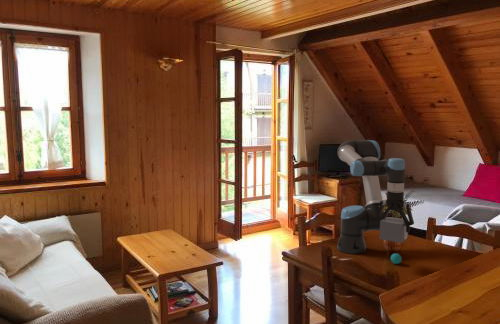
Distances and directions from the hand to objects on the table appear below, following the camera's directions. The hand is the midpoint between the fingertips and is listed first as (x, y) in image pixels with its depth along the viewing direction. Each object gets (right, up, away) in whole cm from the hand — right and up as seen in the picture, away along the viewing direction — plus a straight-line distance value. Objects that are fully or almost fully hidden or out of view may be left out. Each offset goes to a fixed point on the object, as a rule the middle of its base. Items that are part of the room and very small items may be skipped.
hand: (393, 236), depth 202 cm
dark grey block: (0, -1, 0) cm, 1 cm away
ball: (+2, -11, +4) cm, 12 cm away
